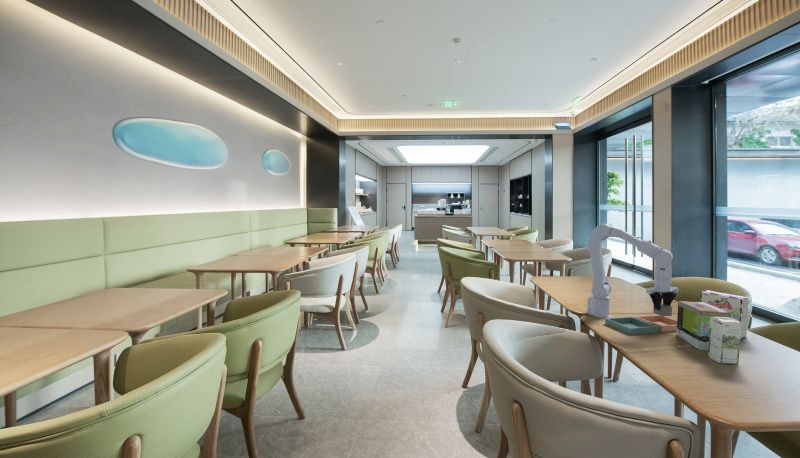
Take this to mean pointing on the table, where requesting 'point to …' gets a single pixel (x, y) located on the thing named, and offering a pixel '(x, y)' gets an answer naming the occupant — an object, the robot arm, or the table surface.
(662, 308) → the stone block
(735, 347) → the syrup box
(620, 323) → the slate bin
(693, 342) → the tea box
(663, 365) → the table surface
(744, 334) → the candy box
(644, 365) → the table surface
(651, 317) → the terracotta bin
